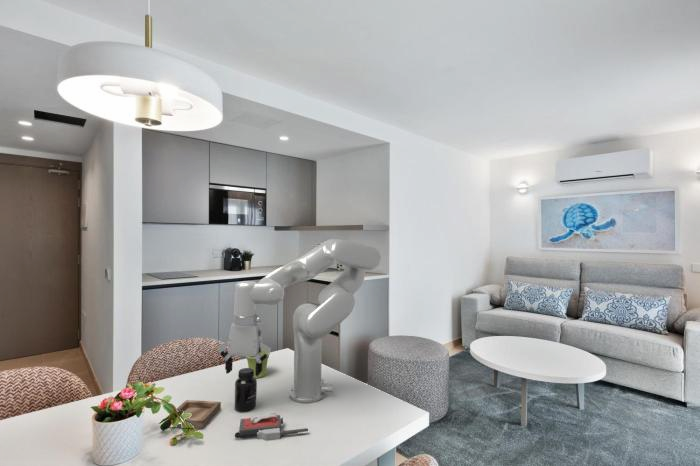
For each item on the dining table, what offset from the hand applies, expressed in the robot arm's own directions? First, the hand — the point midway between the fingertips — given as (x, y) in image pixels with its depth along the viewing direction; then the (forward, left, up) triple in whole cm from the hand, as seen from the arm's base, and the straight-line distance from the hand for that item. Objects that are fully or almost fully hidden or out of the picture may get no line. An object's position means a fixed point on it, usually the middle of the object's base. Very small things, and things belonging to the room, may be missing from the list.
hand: (243, 373), depth 114 cm
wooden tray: (+12, +8, -11) cm, 18 cm away
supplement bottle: (-1, 0, -12) cm, 12 cm away
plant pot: (+4, -25, -12) cm, 28 cm away
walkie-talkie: (-13, +12, -12) cm, 21 cm away
